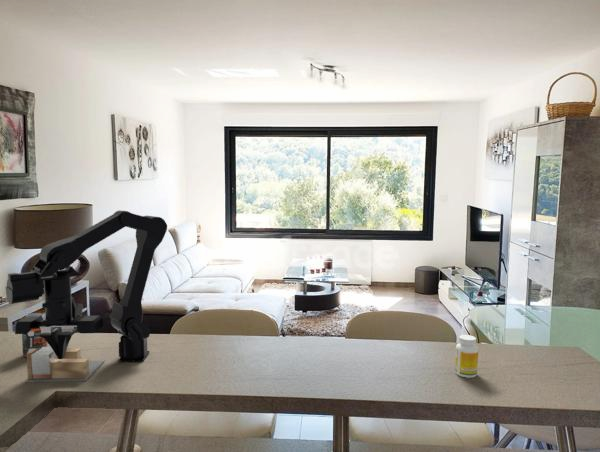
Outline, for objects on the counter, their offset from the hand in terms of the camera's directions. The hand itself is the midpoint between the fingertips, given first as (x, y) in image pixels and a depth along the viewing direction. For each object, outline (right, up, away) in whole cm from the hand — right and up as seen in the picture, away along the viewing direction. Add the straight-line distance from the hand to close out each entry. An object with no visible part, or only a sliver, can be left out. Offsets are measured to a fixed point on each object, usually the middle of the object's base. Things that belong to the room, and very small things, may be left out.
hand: (61, 358), depth 112 cm
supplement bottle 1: (-15, -4, +15) cm, 22 cm away
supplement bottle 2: (+101, -5, +4) cm, 101 cm away
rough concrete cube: (-4, -3, 0) cm, 5 cm away
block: (-1, -4, +4) cm, 6 cm away
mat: (-1, -5, +4) cm, 6 cm away
